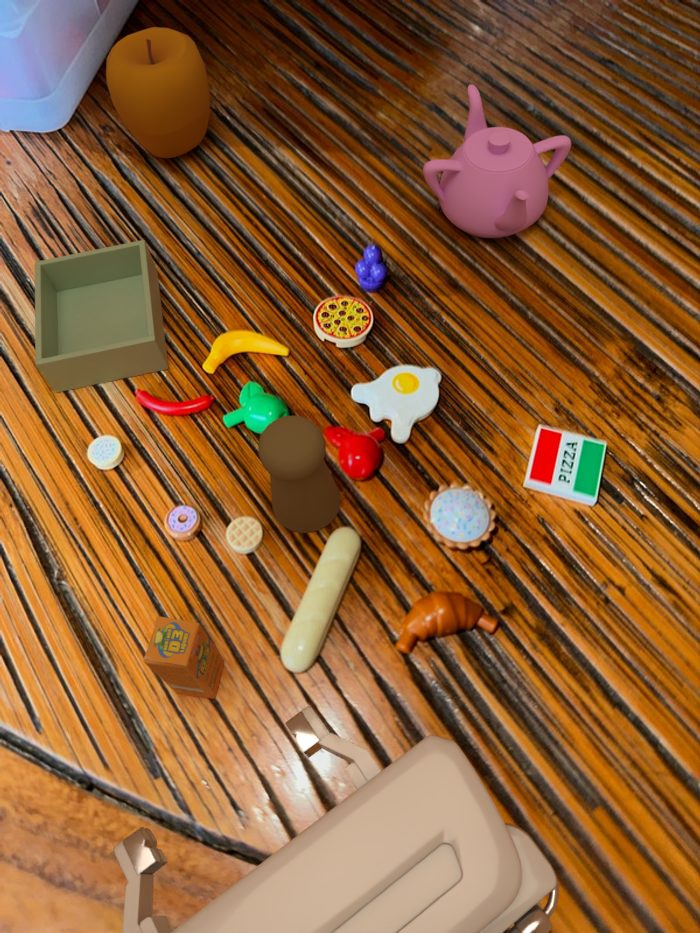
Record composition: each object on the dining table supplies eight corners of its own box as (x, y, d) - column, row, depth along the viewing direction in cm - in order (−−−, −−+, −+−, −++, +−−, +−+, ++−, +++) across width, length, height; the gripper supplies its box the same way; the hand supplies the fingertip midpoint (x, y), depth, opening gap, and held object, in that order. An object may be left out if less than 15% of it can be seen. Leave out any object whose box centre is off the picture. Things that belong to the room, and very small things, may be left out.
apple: (187, 188, 87) (154, 84, 76) (114, 161, 90) (71, 57, 79) (240, 130, 91) (216, 24, 80) (168, 106, 94) (136, 0, 83)
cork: (307, 546, 64) (289, 487, 55) (257, 504, 67) (232, 440, 57) (355, 498, 66) (345, 432, 57) (305, 458, 69) (288, 389, 59)
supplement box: (218, 701, 59) (185, 669, 50) (176, 694, 59) (136, 661, 50) (229, 659, 60) (199, 620, 51) (188, 652, 61) (151, 613, 52)
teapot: (515, 266, 78) (526, 198, 70) (404, 213, 83) (403, 144, 75) (574, 197, 82) (591, 126, 74) (465, 150, 87) (470, 78, 79)
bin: (168, 369, 75) (155, 339, 70) (55, 393, 74) (35, 364, 70) (157, 271, 81) (144, 239, 77) (53, 292, 80) (34, 261, 76)
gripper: (595, 906, 30) (388, 629, 36) (140, 1305, 26) (-7, 913, 32) (569, 904, 35) (393, 664, 42) (191, 1232, 31) (57, 910, 37)
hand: (217, 774), depth 37 cm, fingers open, 8 cm apart
